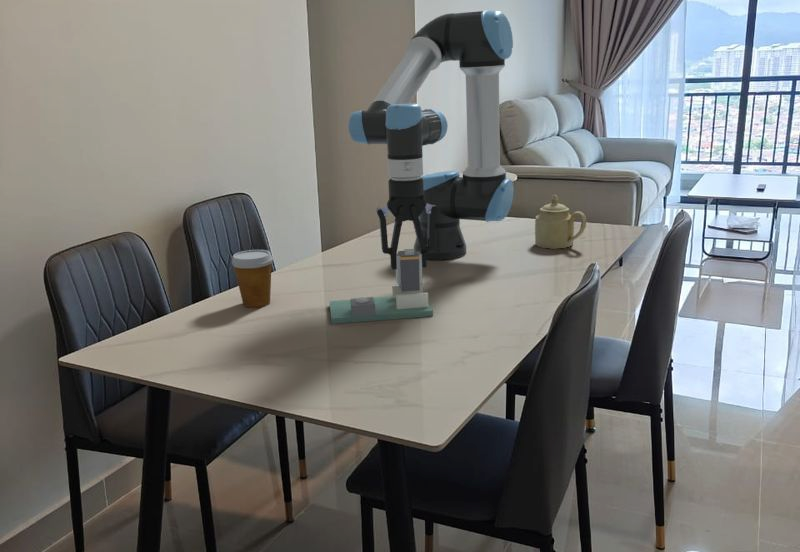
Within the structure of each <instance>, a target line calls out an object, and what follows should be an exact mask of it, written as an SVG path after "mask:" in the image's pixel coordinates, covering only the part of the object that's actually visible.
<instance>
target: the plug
mask: <svg viewBox="0 0 800 552" xmlns="http://www.w3.org/2000/svg"><path fill="white" fill-rule="evenodd" d="M397 253H399V255H400V270H401V284H400V285H399V286H400V289H401V291H402V292H404V291H420V280H419V255H418V253H417V251H416V250H414V248H407V249H406V248H405V249H404V250H397Z"/></svg>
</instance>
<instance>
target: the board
mask: <svg viewBox="0 0 800 552" xmlns="http://www.w3.org/2000/svg"><path fill="white" fill-rule="evenodd" d="M391 290H392V293H391V294H392V295H391V296H383V297H382V296H381V297H380V296H378V297H373V296H368V297H358V298H357V297H356V298H355V297H354V298H350V299H341V300H339V299H338V300H329V309H330V310H329V311H330V319H331V320H330V321H331V325H333V324H336V325H337V324H346V323H359V322H360V323H363V322H372V321H384V320H385V321H387V320H398V319H399V320H400V319H410V318H422V317H423V318H424V317H433V316H434V309H433V308H432V306H431V305H430V303H429V292H424V285H423V282H422V283H420V291H404V292H402V291H401V289H400V286H399V285H398V284H392V285H391Z"/></svg>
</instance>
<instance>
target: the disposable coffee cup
mask: <svg viewBox="0 0 800 552" xmlns="http://www.w3.org/2000/svg"><path fill="white" fill-rule="evenodd" d="M273 260H274V257H273V256H272V253H271V251H269V250H267V249H266V250H265V249H250V250H243V251H239V252H236V253H234V254H233V255H232V259H231V264H232V266H233V267H234V268H233V269H234V271H235V276H236V280H237V285H238V289H239V293H240V297H241V301H242V306H243V307H246V308H256V309H257V308H263V307H265V306H268V305H269V304H270V303H271V289H272V285H271V284H272V263H273Z"/></svg>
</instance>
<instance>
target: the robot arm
mask: <svg viewBox="0 0 800 552" xmlns="http://www.w3.org/2000/svg"><path fill="white" fill-rule="evenodd" d="M513 46H514V40H513V32H512V27H511V24H510V21H509V19H508V18H507V16H506V15H505V13H504V12H502V11H499V10H486V9H485V10H481V11H467V12H455V13H453V12H452V13H450V12H449V13H445V14H442V15H440V16H437V17H435V18H433V19H431V20H430V21H429V22H428V23H426V24H424V25H423V26H422V27H421V28H420V29H419V30H418V31H417V32H416V33H415V34H414V35H413V37H412V38H411V39H410V41H409V42H408V44H407V46H406V54H405V55H404V56H403V58H402V59H401V60H400V62H398V65H397V66H396V68H395V69H394V71H393V72H392V73H391V75H389V78H388V80H387V81H386V83H384V85H383V87H381V90H379V92H378V94H377V96H375V98H374V99H373V101H372V103H371V104H370V105H369V107H368V108H367V109H366V110H364V109H361V110H357V111H354V112H352V114H351V115H350V117H349V119H348V125H347V126H348V133H349V135H350V138H351V140H352V141H353V142H355V143H356V144H366V145H369V146H370V145H386V146H387V147H386V149H387V155H386V156H387V175H388V177H389V178H390V179H389V180H388V183H387V184H388V201H387V202H386V205H384V206H382V207H377V208H376V209H375V212H376V214H377V216H378V219H379V229H380V244H381V250H382V253H383V254H386V255H387V254H388V255H389V256H390V258H389V259H390V268H391V269H392V270H395V282H396V285H400V284H401V270H400V255H399V253H398V247H399V241H400V236H401V230H402V226H403V222H407V221H410V222H412V224H413V229H414V231H415V236H416V237H415V240H414V244H413V249H414V250H416V251H417V253H418V255H419V280H420V283H423V268H427V266H428V265H427V264H428V263H427V262H428V261H427V260H438V261H439V260H451V259H457V258H461V257H462V256H465V255H466V253H467V244H466V241H465V239H464V235H463V233H462V230H461V229H462V228H461V223H460V222H461V221H460V220H466V221H481V222H482V221H483V222H487V223H489V222H501V221H503V220H504V219H506V217H507V216H508V214H509V212H510V210H511V207H512V203H513V200H514V192H515V191H514V190H515V188H514V182H513V180H512V179H510V178H507V176H506V173H507V171H506V169H505V168H504V167H503V166H502V165H501V148H500V147H501V146H500V145H501V141H500V140H501V139H500V138H501V137H500V131H501V130H500V123H501V122H500V72H501V71H502V69H504V67H505V61H506V60H507V59H509V58H510V57H511V56H512V53H513ZM449 61H450V62H451V61H459V69H460V70H461V71H462V72H463V73H464V75H465V97H466V100H465V103H466V105H465V106H466V136H467V137H466V141H467V144H466V145H467V166H466V168H465V169H464V170H463V171H462V176H461V174H460V172H459V170H458V171H457V170H448V171H446V170H445V171H440V172H434V173H430V174H429V173H428V174H425V175H424V165H423V161H424V160H423V146H428V145H434V144H436V143H438V142H440V141H442V140H443V139H444V138H445V136H446V134H447V131H448V120H447V118H446V116H445V115H444V114H443V113H442V112H441V111H439V110H437V109H432V108H431V109H430V108H429V109H428V108H426V109H423V110H422V107H421V105H420V104H418V103H412V100H413V99H414V97H415V96H416V94H417V93H418V91H419V90H420V88H421V87H422V85H423V83H424V82H425V81H426V80H427V78H428V76H429V74H430V73H431V72H432V71H434V70H436V69H437V68H439V66H440V65H441V63H444V62H449ZM388 212H390V213H391V214H392V215H393V217H394V223H393V224H394V225H393V230H392V237H391V242H390V247H389V242H388V229H387V219H386V217H388Z"/></svg>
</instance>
